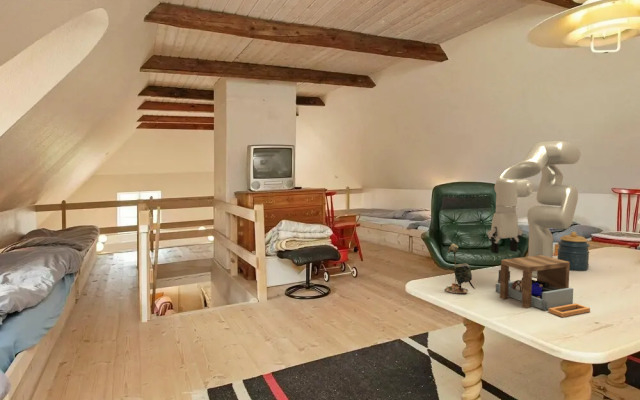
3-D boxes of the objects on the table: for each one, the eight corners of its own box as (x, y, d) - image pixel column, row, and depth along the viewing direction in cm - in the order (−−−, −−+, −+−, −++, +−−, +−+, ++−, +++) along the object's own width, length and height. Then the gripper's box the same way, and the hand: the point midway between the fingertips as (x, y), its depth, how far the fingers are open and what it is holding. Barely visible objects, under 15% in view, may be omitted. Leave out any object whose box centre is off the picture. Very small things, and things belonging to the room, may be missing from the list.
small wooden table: (539, 291, 152) (540, 255, 151) (568, 300, 141) (569, 262, 139) (499, 297, 145) (500, 259, 144) (526, 308, 134) (528, 267, 132)
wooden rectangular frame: (575, 307, 134) (575, 303, 134) (589, 312, 130) (590, 308, 129) (548, 312, 130) (548, 308, 130) (562, 317, 125) (562, 313, 125)
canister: (588, 266, 187) (589, 231, 186) (589, 272, 177) (590, 235, 175) (557, 263, 195) (558, 229, 193) (556, 268, 184) (557, 232, 182)
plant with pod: (469, 297, 145) (470, 246, 144) (441, 291, 153) (442, 242, 151) (477, 292, 151) (478, 243, 149) (450, 286, 159) (450, 239, 157)
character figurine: (553, 307, 135) (509, 297, 146) (560, 301, 140) (517, 291, 151) (553, 286, 134) (509, 277, 145) (560, 280, 139) (517, 272, 150)
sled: (513, 284, 160) (514, 268, 159) (572, 305, 135) (573, 285, 135) (488, 288, 155) (488, 271, 155) (544, 310, 131) (545, 290, 130)
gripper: (514, 208, 160) (513, 249, 161) (482, 209, 154) (480, 251, 155) (530, 210, 153) (528, 252, 154) (496, 211, 147) (494, 255, 148)
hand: (504, 252), depth 154 cm, fingers open, 9 cm apart
